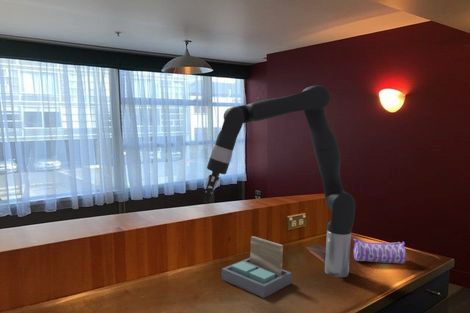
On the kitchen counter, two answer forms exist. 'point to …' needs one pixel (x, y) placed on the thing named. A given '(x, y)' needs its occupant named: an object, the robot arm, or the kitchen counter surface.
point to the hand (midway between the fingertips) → (206, 200)
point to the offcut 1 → (243, 268)
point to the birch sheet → (266, 254)
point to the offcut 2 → (261, 275)
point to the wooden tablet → (318, 252)
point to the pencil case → (379, 252)
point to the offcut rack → (253, 285)
